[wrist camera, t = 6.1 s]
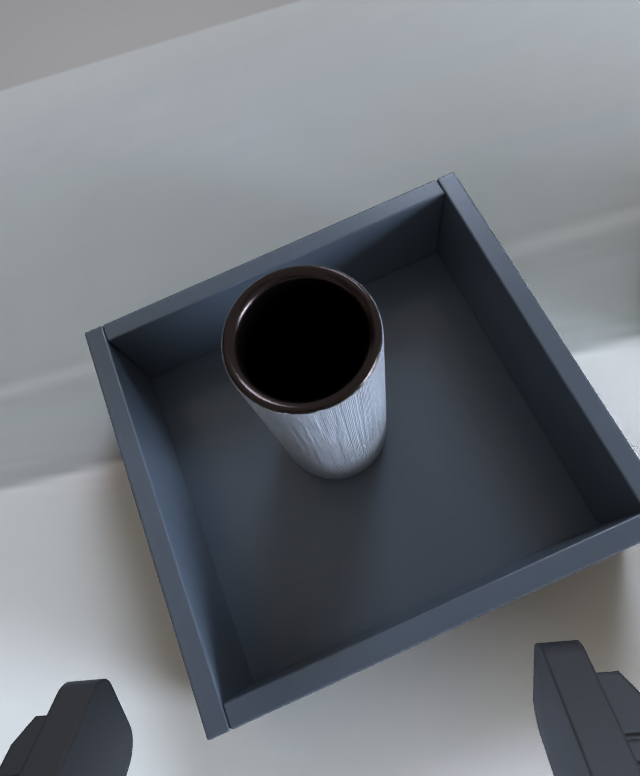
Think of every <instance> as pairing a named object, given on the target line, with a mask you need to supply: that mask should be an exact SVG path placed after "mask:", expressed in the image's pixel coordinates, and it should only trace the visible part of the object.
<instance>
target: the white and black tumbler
mask: <svg viewBox="0 0 640 776" xmlns="http://www.w3.org/2000/svg"><path fill="white" fill-rule="evenodd" d="M221 350H222V358H223V362H224V366H225V368H226V371H227V373H228V375H229V377H230V379H231V381H232V382H233V384H234V385H235V387H236V388H237V389H238V391H239V392H240V393H241V394H242V396H243V397H244V398H245V399H246V401H247V402H248V403H249V404H250V406H251V407H252V408H253V409H254V411H255V412H256V413H257V414H258V416H259V417H260V418H261V419H262V421H263V422H264V423H265V424H266V426H267V427H268V428H269V429H270V431H271V432H272V433H273V434H274V436H275V437H276V438H277V439H278V441H279V442H280V443H281V444H282V446H283V447H284V448H285V449H286V451H287V452H288V453H289V454H290V456H291V457H292V458H293V459H294V461H295V462H296V463H297V464H298V465H300V466H301V467H302V468H303V469H305V470H306V471H307V472H309V473H311V474H313V475H315V476H318V477H321V478H325V479H344V478H348V477H351V476H354V475H356V474H359V473H360V472H362V471H364V470H365V469H366V468H368V467H369V466H370V465H371V464H372V463H373V462H374V461H375V459H376V458H377V457H378V455H379V454H380V452H381V450H382V447H383V445H384V441H385V437H386V430H387V420H386V390H385V360H384V334H383V325H382V320H381V316H380V313H379V310H378V308H377V306H376V304H375V302H374V300H373V299H372V297H371V296H370V294H369V293H368V292H367V291H366V289H365V288H364V287H363V286H362V285H361V284H359V283H358V282H357V281H356V280H354V279H353V278H351V277H350V276H348V275H346V274H345V273H343V272H340V271H338V270H335V269H332V268H329V267H325V266H319V265H295V266H289V267H285V268H281V269H278V270H276V271H273V272H271V273H269V274H267V275H265V276H263V277H261V278H260V279H258V280H257V281H255V282H254V283H253V284H251V285H250V286H249V287H248V288H247V289H246V290H245V291H244V292H243V293H242V294H241V295H240V296H239V297H238V299H237V300H236V301H235V303H234V304H233V306H232V308H231V309H230V311H229V313H228V316H227V318H226V321H225V324H224V327H223V332H222V340H221Z"/></svg>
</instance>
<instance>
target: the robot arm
mask: <svg viewBox="0 0 640 776" xmlns="http://www.w3.org/2000/svg"><path fill="white" fill-rule="evenodd" d="M533 702H534V710H535V715H536V720H537V724H538V728H539V732H540V735H541V738H542V741H543V744H544V747H545V750H546V753H547V756H548V759H549V762H550V765H551V768H552V771H553V774H554V776H640V692H639V691H638V690H637V689H636V688H635V687H634V686H633V685H632V684H631V683H630V682H629V681H628V680H627V679H626V678H625V677H624V676H623V675H622V674H621V673H620V672H619V671H612V672H600V673H596V672H595V670H594V668H593V666H592V663H591V661H590V659H589V657H588V655H587V653H586V651H585V649H584V647H583V645H582V644H581V643H580V642H579V641H578V640H571V641H559V642H548V643H536V644H535V646H534V677H533ZM132 747H133V738H132V730H131V727H130V724H129V722H128V720H127V718H126V715H125V713H124V711H123V709H122V707H121V705H120V702H119V700H118V698H117V696H116V694H115V691H114V689H113V687H112V685H111V683H110V682H109V681H108V680H107V679H96V680H85V681H73V682H67V683H65V684H64V685H63V686H62V687H61V688H60V690H59V691H58V693H57V695H56V697H55V699H54V701H53V703H52V705H51V708H50V710H49V712H48V714H47V715H46V716H36V717H35V718H34V719H33V720H32V721H31V722H30V724H29V725H28V726H27V727H26V728H25V729H24V731H23V732H22V733H21V734H20V735H19V736H18V738H17V739H16V740H15V741H14V742H13V743H12V744H11V746H10V748H9V750H8V752H7V754H6V756H5V758H4V760H3V762H2V764H1V766H0V776H126V775H127V771H128V768H129V765H130V761H131V756H132Z"/></svg>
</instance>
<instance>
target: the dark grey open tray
mask: <svg viewBox="0 0 640 776" xmlns="http://www.w3.org/2000/svg"><path fill="white" fill-rule="evenodd" d="M295 265H319V266H325V267H329V268H332V269H335V270H338V271H340V272H343V273H345V274H346V275H348V276H350V277H351V278H353V279H354V280H356V281H357V282H358V283H359V284H361V285H362V286H363V287H364V288H365V289H366V291H367V292H368V293H369V294H370V296H371V297H372V299H373V300H374V302H375V304H376V306H377V308H378V310H379V313H380V316H381V320H382V325H383V334H384V360H385V390H386V420H387V430H386V437H385V441H384V445H383V447H382V450H381V452H380V454H379V455H378V457H377V458H376V459H375V461H374V462H373V463H372V464H371V465H370V466H369V467H368V468H366V469H365V470H364V471H362V472H360V473H359V474H356V475H354V476H351V477H348V478H344V479H325V478H321V477H318V476H315V475H313V474H311V473H309V472H307V471H306V470H305V469H303V468H302V467H301V466H300V465H298V464H297V463H296V462H295V461H294V459H293V458H292V457H291V456H290V454H289V453H288V452H287V451H286V449H285V448H284V447H283V446H282V444H281V443H280V442H279V441H278V439H277V438H276V437H275V436H274V434H273V433H272V432H271V431H270V429H269V428H268V427H267V426H266V424H265V423H264V422H263V421H262V419H261V418H260V417H259V416H258V414H257V413H256V412H255V411H254V409H253V408H252V407H251V406H250V404H249V403H248V402H247V401H246V399H245V398H244V397H243V396H242V394H241V393H240V392H239V391H238V389H237V388H236V387H235V385H234V384H233V382H232V381H231V379H230V377H229V375H228V373H227V371H226V368H225V366H224V362H223V358H222V350H221V340H222V332H223V327H224V324H225V321H226V318H227V316H228V313H229V311H230V309H231V308H232V306H233V304H234V303H235V301H236V300H237V299H238V297H239V296H240V295H241V294H242V293H243V292H244V291H245V290H246V289H247V288H248V287H249V286H250V285H251V284H253V283H254V282H255V281H257V280H258V279H260V278H261V277H263V276H265V275H267V274H269V273H271V272H273V271H276V270H278V269H281V268H285V267H289V266H295ZM85 336H86V339H87V343H88V346H89V349H90V353H91V356H92V359H93V363H94V366H95V369H96V373H97V376H98V379H99V382H100V386H101V389H102V392H103V396H104V399H105V402H106V406H107V409H108V412H109V416H110V419H111V422H112V425H113V429H114V432H115V435H116V439H117V442H118V445H119V449H120V452H121V455H122V459H123V462H124V465H125V468H126V472H127V475H128V478H129V482H130V485H131V488H132V492H133V495H134V498H135V502H136V505H137V508H138V512H139V515H140V518H141V521H142V525H143V528H144V531H145V535H146V538H147V541H148V545H149V548H150V551H151V555H152V558H153V561H154V564H155V568H156V571H157V574H158V578H159V581H160V584H161V588H162V591H163V594H164V598H165V601H166V604H167V608H168V611H169V614H170V617H171V621H172V624H173V627H174V631H175V634H176V637H177V641H178V644H179V647H180V651H181V654H182V657H183V660H184V664H185V667H186V670H187V674H188V677H189V680H190V684H191V687H192V690H193V694H194V697H195V700H196V703H197V707H198V710H199V713H200V717H201V720H202V723H203V727H204V730H205V733H206V737H207V739H208V740H211V739H213V738H215V737H217V736H220V735H222V734H224V733H226V732H228V731H230V730H231V729H235V728H237V727H239V726H241V725H243V724H246V723H248V722H250V721H252V720H254V719H257V718H259V717H261V716H263V715H265V714H267V713H270V712H272V711H274V710H276V709H278V708H281V707H283V706H285V705H287V704H289V703H291V702H294V701H296V700H298V699H300V698H302V697H305V696H307V695H309V694H311V693H313V692H315V691H318V690H320V689H322V688H324V687H326V686H329V685H331V684H333V683H335V682H337V681H339V680H342V679H344V678H346V677H348V676H350V675H353V674H355V673H357V672H359V671H361V670H363V669H366V668H368V667H370V666H372V665H374V664H377V663H379V662H381V661H383V660H385V659H387V658H390V657H392V656H394V655H396V654H398V653H401V652H403V651H405V650H407V649H409V648H411V647H414V646H416V645H418V644H420V643H422V642H425V641H427V640H429V639H431V638H433V637H435V636H438V635H440V634H442V633H444V632H446V631H449V630H451V629H453V628H455V627H457V626H459V625H462V624H464V623H466V622H468V621H470V620H473V619H475V618H477V617H479V616H481V615H483V614H486V613H488V612H490V611H492V610H494V609H497V608H499V607H501V606H503V605H505V604H508V603H510V602H512V601H514V600H516V599H518V598H521V597H523V596H525V595H527V594H529V593H532V592H534V591H536V590H538V589H540V588H542V587H545V586H547V585H549V584H551V583H553V582H556V581H558V580H560V579H562V578H564V577H566V576H569V575H571V574H573V573H575V572H577V571H580V570H582V569H584V568H586V567H588V566H590V565H593V564H595V563H597V562H599V561H601V560H604V559H606V558H608V557H610V556H612V555H614V554H617V553H619V552H621V551H623V550H625V549H628V548H630V547H632V546H634V545H636V544H638V543H640V460H639V459H638V457H637V455H636V454H635V452H634V451H633V449H632V448H631V446H630V445H629V443H628V441H627V440H626V438H625V437H624V435H623V434H622V432H621V431H620V429H619V428H618V426H617V424H616V423H615V421H614V420H613V418H612V417H611V415H610V414H609V412H608V411H607V409H606V407H605V406H604V404H603V403H602V401H601V400H600V398H599V397H598V395H597V393H596V392H595V390H594V389H593V387H592V386H591V384H590V383H589V381H588V380H587V378H586V376H585V375H584V373H583V372H582V370H581V369H580V367H579V366H578V364H577V362H576V361H575V359H574V358H573V356H572V355H571V353H570V352H569V350H568V349H567V347H566V345H565V344H564V342H563V341H562V339H561V338H560V336H559V335H558V333H557V332H556V330H555V328H554V327H553V325H552V324H551V322H550V321H549V319H548V318H547V316H546V314H545V313H544V311H543V310H542V308H541V307H540V305H539V304H538V302H537V301H536V299H535V297H534V296H533V294H532V293H531V291H530V290H529V288H528V287H527V285H526V283H525V282H524V280H523V279H522V277H521V276H520V274H519V273H518V271H517V270H516V268H515V266H514V265H513V263H512V262H511V260H510V259H509V257H508V256H507V254H506V253H505V251H504V249H503V248H502V246H501V245H500V243H499V242H498V240H497V239H496V237H495V235H494V234H493V232H492V231H491V229H490V228H489V226H488V225H487V223H486V222H485V220H484V218H483V217H482V215H481V214H480V212H479V211H478V209H477V208H476V206H475V204H474V203H473V201H472V200H471V198H470V197H469V195H468V194H467V192H466V191H465V189H464V187H463V186H462V184H461V183H460V181H459V180H458V178H457V177H456V175H455V173H450V174H448V175H445V176H443V177H441V178H439V179H437V181H436V180H434V181H432V182H429V183H427V184H425V185H423V186H420V187H418V188H416V189H413V190H411V191H409V192H407V193H404V194H402V195H400V196H398V197H395V198H393V199H391V200H388V201H386V202H384V203H382V204H379V205H377V206H375V207H372V208H370V209H368V210H366V211H363V212H361V213H359V214H356V215H354V216H352V217H350V218H347V219H345V220H343V221H340V222H338V223H336V224H334V225H331V226H329V227H327V228H324V229H322V230H320V231H318V232H315V233H313V234H311V235H308V236H306V237H304V238H302V239H299V240H297V241H295V242H292V243H290V244H288V245H286V246H283V247H281V248H279V249H276V250H274V251H272V252H270V253H267V254H265V255H263V256H260V257H258V258H256V259H254V260H251V261H249V262H247V263H244V264H242V265H240V266H238V267H235V268H233V269H231V270H228V271H226V272H224V273H222V274H219V275H217V276H215V277H212V278H210V279H208V280H206V281H203V282H201V283H199V284H196V285H194V286H192V287H190V288H187V289H185V290H183V291H180V292H178V293H176V294H174V295H171V296H169V297H167V298H164V299H162V300H160V301H158V302H155V303H153V304H151V305H148V306H146V307H144V308H142V309H139V310H137V311H135V312H133V313H130V314H128V315H126V316H123V317H121V318H119V319H117V320H114V321H112V322H110V323H107V324H105V325H104V326H100V327H98V328H96V329H93V330H91V331H89V332H87V333H85Z"/></svg>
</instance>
